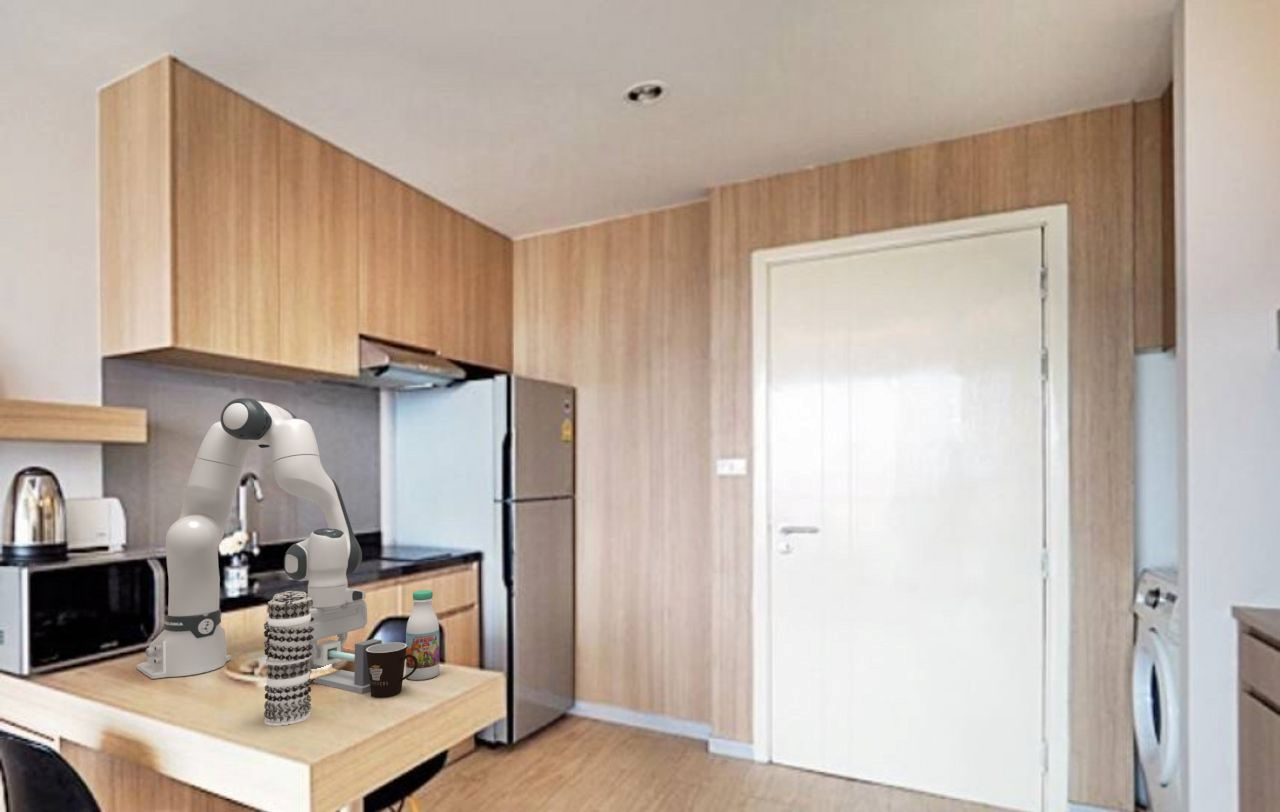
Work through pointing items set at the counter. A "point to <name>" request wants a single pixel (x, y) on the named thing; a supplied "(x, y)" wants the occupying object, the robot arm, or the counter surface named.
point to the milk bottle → (422, 637)
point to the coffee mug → (387, 668)
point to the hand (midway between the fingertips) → (327, 655)
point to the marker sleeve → (324, 648)
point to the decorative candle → (288, 659)
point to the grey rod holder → (348, 679)
